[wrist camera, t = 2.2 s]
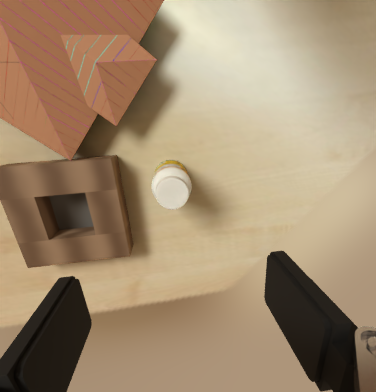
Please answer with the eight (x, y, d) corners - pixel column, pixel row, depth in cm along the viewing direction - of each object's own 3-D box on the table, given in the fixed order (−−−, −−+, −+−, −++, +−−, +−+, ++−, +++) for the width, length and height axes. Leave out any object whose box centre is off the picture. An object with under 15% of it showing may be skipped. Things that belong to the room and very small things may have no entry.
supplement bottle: (154, 158, 32) (149, 170, 22) (188, 160, 32) (196, 172, 23) (154, 190, 33) (149, 214, 24) (186, 191, 34) (192, 215, 25)
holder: (116, 155, 31) (110, 158, 27) (133, 244, 36) (129, 256, 33) (7, 164, 30) (-13, 168, 26) (41, 254, 35) (28, 267, 32)
